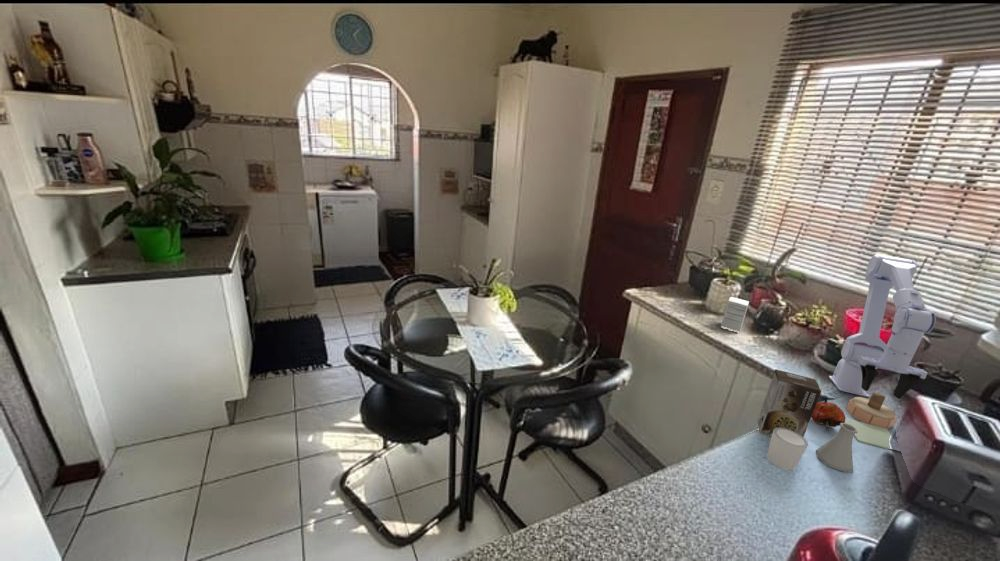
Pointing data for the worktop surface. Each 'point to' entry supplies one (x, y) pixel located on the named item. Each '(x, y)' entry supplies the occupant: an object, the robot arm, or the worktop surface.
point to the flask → (839, 449)
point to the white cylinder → (786, 448)
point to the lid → (874, 406)
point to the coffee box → (788, 403)
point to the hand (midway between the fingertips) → (880, 392)
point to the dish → (869, 417)
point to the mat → (870, 434)
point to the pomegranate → (828, 414)
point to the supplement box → (735, 313)
